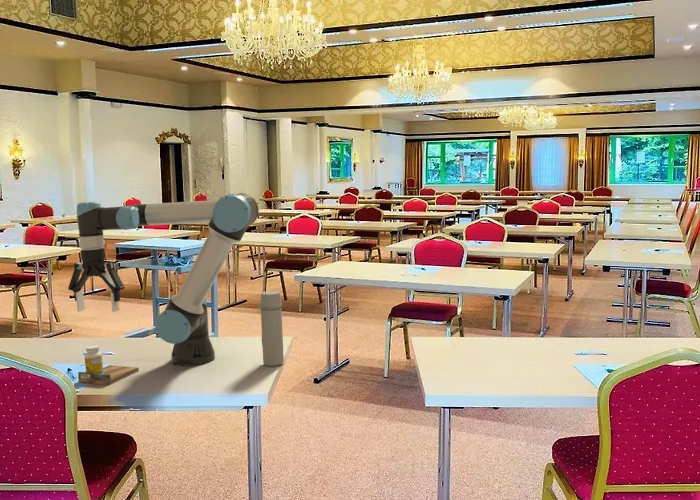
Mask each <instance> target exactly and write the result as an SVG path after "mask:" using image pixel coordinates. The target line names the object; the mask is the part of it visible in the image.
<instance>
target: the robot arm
mask: <svg viewBox="0 0 700 500" xmlns="http://www.w3.org/2000/svg"><path fill="white" fill-rule="evenodd" d="M258 217H259V205H258V203H257V201H256V199H255V198H254V197H252V196H251V195H250V194H247V193H243V192H241V193H230V194H227V195H224V196H219V198H218V199H217V200H216V199H214V200H196V201H195V200H194V201H180V202H179V201H178V202H176V201H175V202H162V203H161V202H160V203H157V202H156V203H147V204H146V203H144V204H143V203H142V204H141V203H134V204H130V205H122V206H110V207H104V206H103V207H102V206H101V203H100V202H99V201H86V202H79V203H77V205H76V219H77V227H78V235H79V236H78V240H79V248H80V249H81V250H80V260H81V262H76V263H74V264H73V267H74V268H73V271H72V272H73V273H72V276H71V278H70V281H69V284H68V288H67V289H68V291H72V292H73V295H74V296H73V297H74V300H75V302H76V309H77V312H82V311H85V299H84V291H83V290H82V288H83V287H84V285H85V283H86V282H87V281H88V279H89V278H90V277H99V278H101V279H102V281H103V282H104V283H105V284H106V285H107V287H108V288H109V289H110V290H111V292H110V301H111V312H112V313H115V312H116V313H117V312H118V311H120V306H119V305H120V304H119V302H120V301H121V294H120V292H121V291H123V290H125V286H124V285H125V284H124V283H123V281H122V280H121V277H120V276H119V273H118V272H117V270H116V268H115V267H116V266H115V263H114V262H113V261H111V262H107V263H106V261H105V259H106V250H105V248H104V246H105V240H104V231H113V230H114V231H117V230H118V231H119V230H125V231H127V230H133V229H134V230H135V229H136V228H137V227H145V226H146V227H148V226H164V225H184V224H203V223H204V224H205V223H206V224H207V223H208V224H207V227H208V229H209V230H208V231H209V233H208V234H207V237H206V239H205V240H204V243H203V245H202V246H201V248H200V250H199V252H198V254H197V256H196V259H195V260H194V262H193V264H192V266H191V268H190V270H189V272H188V274H187V276H186V278H185V280H184V281H183V283H182V286H181V288H180V289H179V292H178V293H177V294H174V295H172V296H171V297H170V299H169V301H168V303H167V305H166V307H165V309H164V310H162V312H161V313H160V314H159V315H158V317H156V320H155V331H156V334H157V335H158V336H159V338H160V339H161V340H163V341H165V343H169V344H170V345H171V344H173V348H172V352H171V362H172V364H175V365H176V366H177V365H178V366H196V365H202V364H206V363H210V362H211V361H213V360H215V358H216V353H215V352H216V351H215V349H214V346H213V344H212V341H211V339H210V336H209V335H210V334H209V333H210V331H209V320H208V319H209V316H208V306H209V305H208V303H207V301H208V299H207V296H208V294H209V292H210V290H211V288H212V286H213V284H214V283H215V280H216V279H217V276H218V274H219V272H220V271H221V268H222V267H223V265H224V263H225V261H226V259H227V257H228V255H229V254H230V252H231V250H232V247H233V246H234V244H235V243H240V242H241V240H242V239H243V237H244V235H245V233H246V231H247V230H248V227H250V226H252V225H253V224H254V223H255V222H256V220H257V219H258ZM82 270H83V271H82Z"/></svg>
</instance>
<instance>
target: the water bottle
mask: <svg viewBox="0 0 700 500" xmlns="http://www.w3.org/2000/svg"><path fill="white" fill-rule="evenodd" d="M282 306H283V303H282V297H281V291H277V290H267V291H262V292H261V293H260V306H259V307H258V309H260V320H261V346H262V360H263V361H262V363H263V364H264V366H266V367H278V366H280V365H283V363H284V362H285V361H284V360H285V359H284V338H283V337H284V335H283V334H284V333H283V313H282Z"/></svg>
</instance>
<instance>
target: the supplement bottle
mask: <svg viewBox="0 0 700 500" xmlns="http://www.w3.org/2000/svg"><path fill="white" fill-rule="evenodd" d="M85 350H86V353H85V354H84V364H85V372H87V373H98V374H103V373H104V371H103V368H104V365H103V364H104V362H103V353H102V352H101V351H100V345H96V344H95V345H94V344H93V345H89V346H86V347H85Z"/></svg>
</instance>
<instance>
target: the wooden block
mask: <svg viewBox="0 0 700 500" xmlns="http://www.w3.org/2000/svg"><path fill="white" fill-rule="evenodd" d="M103 371H104V373H103V374H98V373H87V372H86V371H78V372H77V377H78V383H82V382H86V384H95V385H103V386H104V385H105V386H110V385H112V384H115V383H116V382H119V381H121V380H123V379H125V378H128V377H129V376H132V375H134V374H135V373H137V372H139V367H135V366H124V365H111V364H110V365H109V364H108V365H107V366H103Z"/></svg>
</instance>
